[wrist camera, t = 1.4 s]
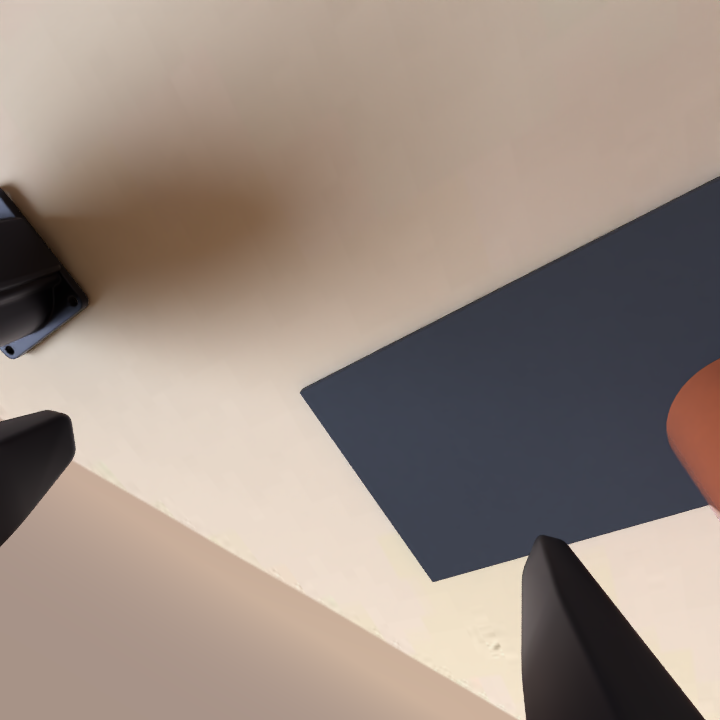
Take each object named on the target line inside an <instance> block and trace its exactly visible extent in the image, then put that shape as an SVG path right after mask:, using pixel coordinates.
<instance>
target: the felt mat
mask: <svg viewBox="0 0 720 720" xmlns="http://www.w3.org/2000/svg"><path fill="white" fill-rule="evenodd" d="M719 358H720V176H719V177H717V178H715V179H713V180H711V181H709V182H707V183H705V184H703V185H701V186H699V187H698V188H696V189H694V190H692V191H690V192H688V193H686V194H684V195H682V196H680V197H678V198H676V199H674V200H672V201H670V202H668V203H666V204H664V205H662V206H660V207H658V208H656V209H654V210H652V211H650V212H648V213H647V214H645V215H643V216H641V217H639V218H637V219H635V220H633V221H631V222H629V223H627V224H625V225H623V226H621V227H619V228H617V229H615V230H613V231H611V232H609V233H607V234H605V235H603V236H601V237H599V238H597V239H596V240H594V241H592V242H590V243H588V244H586V245H584V246H582V247H580V248H578V249H576V250H574V251H572V252H570V253H568V254H566V255H564V256H562V257H560V258H558V259H556V260H554V261H552V262H550V263H548V264H547V265H545V266H543V267H541V268H539V269H537V270H535V271H533V272H531V273H529V274H527V275H525V276H523V277H521V278H519V279H517V280H515V281H513V282H511V283H509V284H507V285H505V286H503V287H501V288H499V289H497V290H496V291H494V292H492V293H490V294H488V295H486V296H484V297H482V298H480V299H478V300H476V301H474V302H472V303H470V304H468V305H466V306H464V307H462V308H460V309H458V310H456V311H454V312H452V313H450V314H448V315H446V316H445V317H443V318H441V319H439V320H437V321H435V322H433V323H431V324H429V325H427V326H425V327H423V328H421V329H419V330H417V331H415V332H413V333H411V334H409V335H407V336H405V337H403V338H401V339H399V340H397V341H395V342H394V343H392V344H390V345H388V346H386V347H384V348H382V349H380V350H378V351H376V352H374V353H372V354H370V355H368V356H366V357H364V358H362V359H360V360H358V361H356V362H354V363H352V364H350V365H348V366H346V367H344V368H343V369H341V370H339V371H337V372H335V373H333V374H331V375H329V376H327V377H325V378H323V379H321V380H319V381H317V382H315V383H313V384H311V385H309V386H307V387H305V388H303V389H302V390H301V392H300V394H301V395H302V397H303V398H304V400H305V401H306V402H307V404H308V405H309V407H310V408H311V409H312V411H313V412H314V414H315V415H316V417H317V418H318V419H319V421H320V422H321V424H322V425H323V427H324V428H325V429H326V431H327V432H328V434H329V435H330V437H331V438H332V439H333V441H334V442H335V444H336V445H337V447H338V448H339V449H340V451H341V452H342V454H343V455H344V456H345V458H346V459H347V461H348V462H349V464H350V465H351V466H352V468H353V469H354V471H355V472H356V474H357V475H358V476H359V478H360V479H361V481H362V482H363V484H364V485H365V486H366V488H367V489H368V491H369V492H370V493H371V495H372V496H373V498H374V499H375V501H376V502H377V503H378V505H379V506H380V508H381V509H382V511H383V512H384V513H385V515H386V516H387V518H388V519H389V521H390V522H391V523H392V525H393V526H394V528H395V529H396V531H397V532H398V533H399V535H400V536H401V538H402V539H403V540H404V542H405V543H406V545H407V546H408V548H409V549H410V550H411V552H412V553H413V555H414V556H415V558H416V559H417V560H418V562H419V563H420V565H421V566H422V568H423V569H424V570H425V572H426V573H427V575H428V576H429V578H430V579H431V580H432V582H435V581H439V580H442V579H446V578H449V577H453V576H456V575H460V574H464V573H467V572H471V571H474V570H478V569H481V568H485V567H489V566H492V565H496V564H499V563H503V562H507V561H510V560H514V559H517V558H521V557H524V556H528V555H529V554H530V551H531V549H532V546H533V544H534V541H535V539H536V538H537V537H538V536H539V535H546V536H550V537H554V538H558V539H561V540H563V541H564V542H566V544H571V543H574V542H578V541H582V540H585V539H589V538H592V537H596V536H599V535H603V534H607V533H610V532H614V531H617V530H621V529H625V528H628V527H632V526H635V525H639V524H642V523H646V522H650V521H653V520H657V519H660V518H664V517H667V516H671V515H675V514H678V513H682V512H685V511H689V510H692V509H696V508H700V507H703V506H707V505H708V503H707V502H706V500H705V499H704V497H703V496H702V494H701V493H700V491H699V490H698V488H697V487H696V485H695V484H694V482H693V481H692V479H691V478H690V476H689V475H688V473H687V472H686V470H685V469H684V467H683V466H682V465H681V463H680V462H679V460H678V459H677V457H676V456H675V454H674V452H673V451H672V449H671V446H670V444H669V441H668V437H667V418H668V413H669V410H670V407H671V404H672V402H673V400H674V398H675V397H676V395H677V394H678V392H679V391H680V389H681V388H682V387H683V386H684V384H685V383H686V382H687V381H688V380H689V379H690V378H691V377H692V376H694V375H695V374H696V373H697V372H698V371H700V370H701V369H702V368H704V367H705V366H707V365H708V364H710V363H712V362H714V361H715V360H717V359H719Z"/></svg>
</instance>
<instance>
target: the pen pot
mask: <svg viewBox="0 0 720 720" xmlns="http://www.w3.org/2000/svg"><path fill="white" fill-rule="evenodd" d="M667 437H668V441H669V444H670V446H671V449H672V451H673V452H674V454H675V456H676V457H677V459H678V460H679V462H680V463H681V465H682V466H683V467H684V469H685V470H686V472H687V473H688V475H689V476H690V478H691V479H692V481H693V482H694V484H695V485H696V487H697V488H698V490H699V491H700V493H701V494H702V496H703V497H704V499H705V500H706V502H707V503H708V505H709V506H710V508H711V509H712V511H713V512H714V514H715V515H716V516H717V518H718V519H719V521H720V358H719V359H717V360H715V361H714V362H712V363H710V364H708V365H707V366H705V367H704V368H702V369H701V370H700V371H698V372H697V373H696V374H695V375H694V376H692V377H691V378H690V379H689V380H688V381H687V382H686V383H685V384H684V386H683V387H682V388H681V389H680V391H679V392H678V394H677V395H676V397H675V398H674V400H673V402H672V404H671V407H670V410H669V413H668V418H667Z"/></svg>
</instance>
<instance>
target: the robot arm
mask: <svg viewBox="0 0 720 720" xmlns="http://www.w3.org/2000/svg"><path fill="white" fill-rule="evenodd" d="M74 297H75V298H76V299H77V301H78V303H77V302H76V301H75V298H74ZM87 306H88V298H87V296H86V294H85V293H84V292H83V291H82V289H81V288H80V287H79V285H78V284H77V283H76V282H75V280H74V279H73V278H72V277H71V275H70V274H69V273H68V272H67V270H66V269H65V268H64V267H63V265H62V264H61V263H60V261H59V260H58V259H57V258H56V256H55V255H54V254H53V253H52V251H51V250H50V249H49V248H48V246H47V245H46V244H45V243H44V241H43V240H42V239H41V237H40V236H39V235H38V234H37V232H36V231H35V230H34V229H33V227H32V226H31V225H30V224H29V222H28V221H27V220H26V219H25V217H24V216H23V215H22V213H21V212H20V211H19V210H18V208H17V207H16V206H15V205H14V203H13V202H12V201H11V200H10V198H9V197H8V196H7V195H6V193H5V192H4V191H3V190H2V189H1V188H0V350H1V351H2V352H3V353H4V354H5V355H6V356H7V357H9V358H11V359H16V358H18V357H20V356H22V355H24V354H25V353H27V352H28V351H29V350H30V349H32V348H33V347H34V346H36V345H37V344H38V343H40V342H41V341H42V340H44V339H45V338H46V337H48V336H49V335H50V334H52V333H53V332H54V331H56V330H57V329H58V328H60V327H61V326H62V325H64V324H65V323H66V322H68V321H69V320H70V319H72V318H73V317H74V316H76V315H77V314H78V313H79V312H81V311H82V310H83V309H85V308H86V307H87ZM75 450H76V448H75V441H74V434H73V428H72V422H71V419H70V417H69V416H68V415H66V414H63V413H59V412H55V411H51V410H45V411H40V412H36V413H32V414H28V415H24V416H20V417H16V418H13V419H9V420H5V421H1V422H0V546H1V545H2V544H3V543H4V542H5V541H6V540H7V539H8V538H9V537H10V536H11V535H12V534H13V533H14V531H15V530H16V529H17V528H18V527H19V526H20V525H21V524H22V522H23V521H24V520H25V519H26V518H27V516H28V515H29V514H30V513H31V511H32V510H33V509H34V508H35V506H36V505H37V504H38V503H39V501H40V500H41V499H42V498H43V496H44V495H45V494H46V493H47V491H48V490H49V489H50V488H51V486H52V485H53V484H54V482H55V481H56V480H57V479H58V477H59V476H60V475H61V474H62V472H63V471H64V470H65V468H66V467H67V466H68V465H69V464H70V462H71V461H72V459H73V457H74V455H75ZM521 660H522V682H523V693H524V703H525V712H526V720H705V719H704V718H703V716H702V715H701V714H700V712H699V711H698V710H697V709H696V707H695V706H694V705H693V704H692V702H691V701H690V700H689V698H688V697H687V696H686V695H685V693H684V692H683V691H682V690H681V688H680V687H679V686H678V684H677V683H676V682H675V681H674V679H673V678H672V677H671V676H670V674H669V673H668V672H667V671H666V669H665V668H664V667H663V665H662V664H661V663H660V662H659V660H658V659H657V658H656V657H655V655H654V654H653V653H652V651H651V650H650V649H649V648H648V646H647V645H646V644H645V643H644V641H643V640H642V639H641V637H640V636H639V635H638V634H637V632H636V631H635V630H634V629H633V627H632V626H631V625H630V623H629V622H628V621H627V620H626V618H625V617H624V616H623V615H622V613H621V612H620V611H619V609H618V608H617V607H616V606H615V604H614V603H613V602H612V601H611V599H610V598H609V597H608V596H607V594H606V593H605V592H604V590H603V589H602V588H601V587H600V585H599V584H598V583H597V582H596V580H595V579H594V578H593V576H592V575H591V574H590V573H589V571H588V570H587V569H586V568H585V566H584V565H583V564H582V562H581V561H580V560H579V559H578V557H577V556H576V555H575V554H574V552H573V551H572V550H571V548H570V547H569V546H568V545H567V544H566V542H564V541H563V540H561V539H558V538H554V537H550V536H546V535H539V536H538V537H537V538H536V539H535V541H534V544H533V546H532V549H531V551H530V554H529V556H528V559H527V561H526V564H525V566H524V570H523V575H522V645H521Z"/></svg>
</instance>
